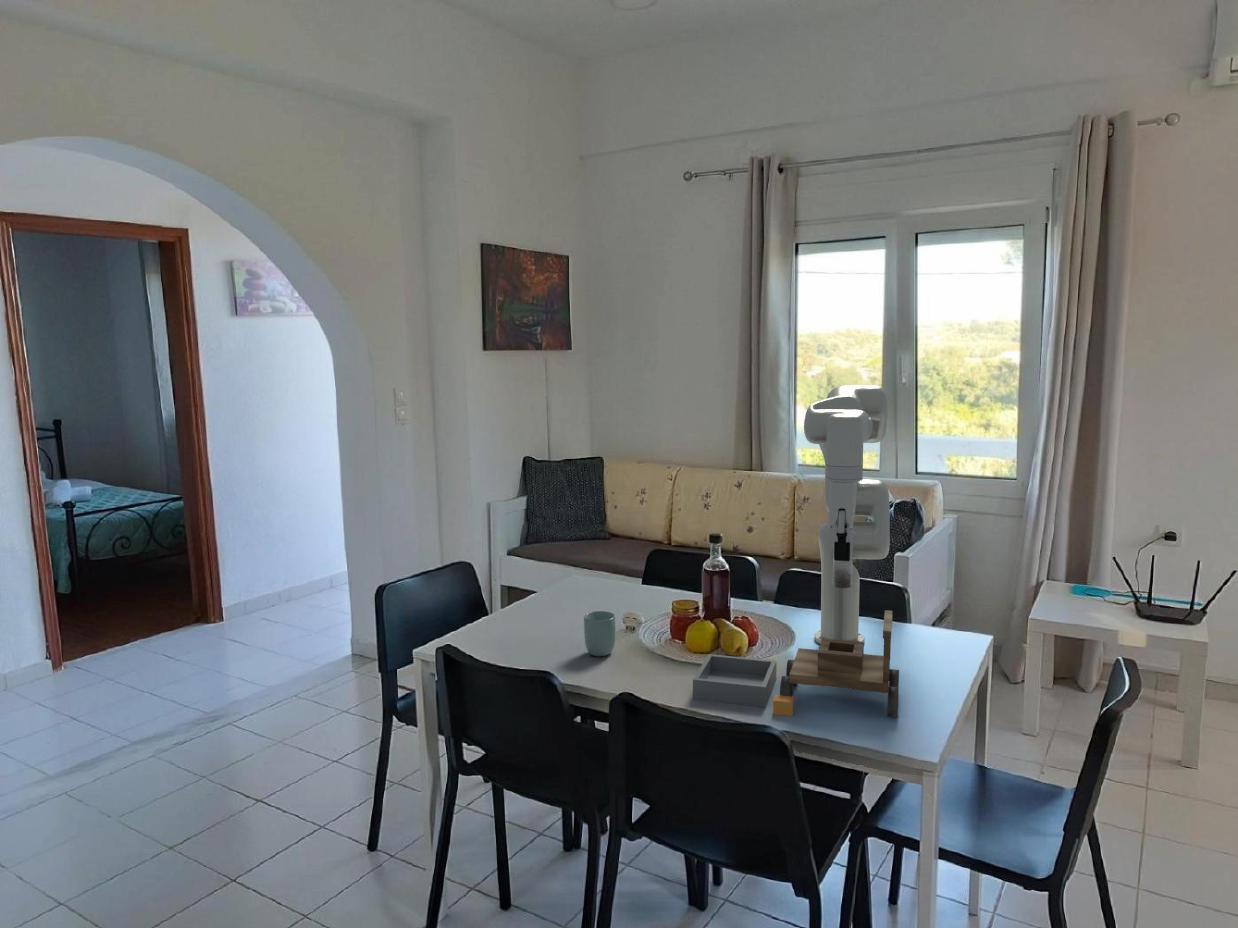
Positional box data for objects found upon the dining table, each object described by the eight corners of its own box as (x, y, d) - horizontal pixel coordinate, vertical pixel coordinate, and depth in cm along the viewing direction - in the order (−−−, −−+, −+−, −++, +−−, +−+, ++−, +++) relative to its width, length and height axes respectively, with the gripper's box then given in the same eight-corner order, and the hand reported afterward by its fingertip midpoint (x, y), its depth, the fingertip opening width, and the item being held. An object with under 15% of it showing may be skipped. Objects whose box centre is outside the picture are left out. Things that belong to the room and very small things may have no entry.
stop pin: (833, 582, 190) (834, 528, 188) (852, 583, 189) (853, 529, 187) (831, 587, 187) (832, 532, 185) (851, 588, 185) (852, 533, 183)
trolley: (789, 680, 203) (790, 601, 200) (898, 691, 195) (900, 610, 192) (779, 708, 188) (780, 623, 185) (897, 721, 180) (899, 633, 177)
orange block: (775, 708, 188) (775, 694, 187) (794, 710, 187) (794, 696, 186) (773, 713, 185) (773, 700, 185) (792, 716, 184) (792, 702, 183)
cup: (595, 646, 228) (594, 609, 226) (621, 651, 224) (620, 613, 222) (579, 655, 221) (578, 617, 219) (605, 661, 217) (604, 622, 215)
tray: (708, 672, 208) (708, 654, 208) (776, 679, 204) (776, 660, 203) (692, 698, 193) (692, 679, 193) (765, 707, 188) (765, 687, 188)
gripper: (829, 466, 193) (828, 547, 196) (822, 478, 177) (820, 566, 180) (864, 467, 191) (862, 549, 194) (860, 480, 175) (858, 569, 178)
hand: (842, 556), depth 187 cm, fingers closed on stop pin, 4 cm apart
